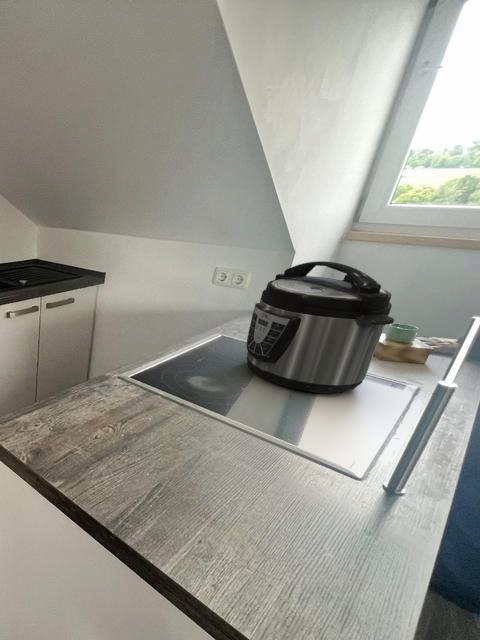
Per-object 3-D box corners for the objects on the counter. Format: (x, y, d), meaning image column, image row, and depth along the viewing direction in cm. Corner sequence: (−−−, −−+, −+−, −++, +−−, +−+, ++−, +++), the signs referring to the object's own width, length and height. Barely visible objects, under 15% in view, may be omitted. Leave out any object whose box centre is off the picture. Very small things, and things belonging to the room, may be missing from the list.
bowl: (409, 338, 122) (415, 325, 120) (415, 345, 117) (421, 331, 115) (382, 335, 125) (388, 322, 123) (386, 341, 120) (392, 327, 118)
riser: (404, 349, 126) (411, 335, 124) (428, 364, 116) (435, 349, 114) (359, 346, 130) (365, 332, 128) (378, 360, 119) (385, 345, 117)
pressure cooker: (236, 348, 129) (260, 251, 117) (343, 363, 118) (383, 256, 105) (241, 386, 105) (273, 269, 92) (377, 410, 93) (434, 278, 80)
